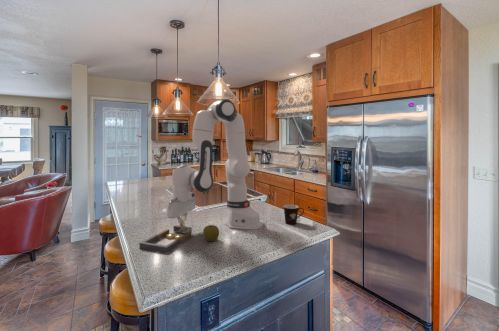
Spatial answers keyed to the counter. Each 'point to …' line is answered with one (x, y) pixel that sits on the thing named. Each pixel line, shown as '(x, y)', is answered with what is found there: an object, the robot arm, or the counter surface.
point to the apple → (211, 232)
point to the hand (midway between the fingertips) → (182, 221)
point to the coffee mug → (291, 214)
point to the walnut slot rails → (182, 239)
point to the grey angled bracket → (155, 247)
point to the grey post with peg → (182, 227)
